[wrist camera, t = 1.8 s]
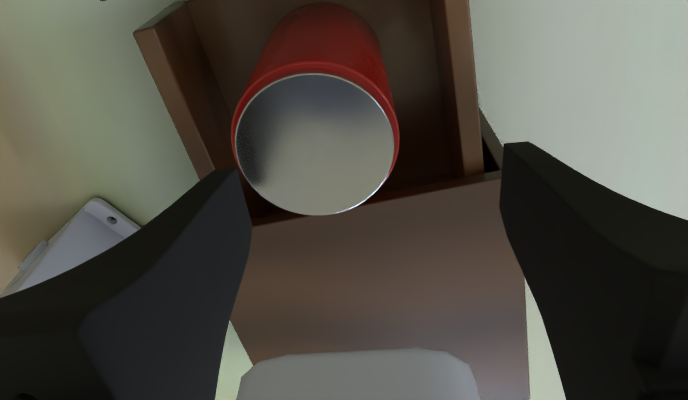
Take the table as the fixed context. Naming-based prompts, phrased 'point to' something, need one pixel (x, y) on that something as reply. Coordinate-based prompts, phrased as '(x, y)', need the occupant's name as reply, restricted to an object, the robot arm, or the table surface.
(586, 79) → the table surface
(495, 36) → the table surface
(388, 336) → the cabinet
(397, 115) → the drawer
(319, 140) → the can
